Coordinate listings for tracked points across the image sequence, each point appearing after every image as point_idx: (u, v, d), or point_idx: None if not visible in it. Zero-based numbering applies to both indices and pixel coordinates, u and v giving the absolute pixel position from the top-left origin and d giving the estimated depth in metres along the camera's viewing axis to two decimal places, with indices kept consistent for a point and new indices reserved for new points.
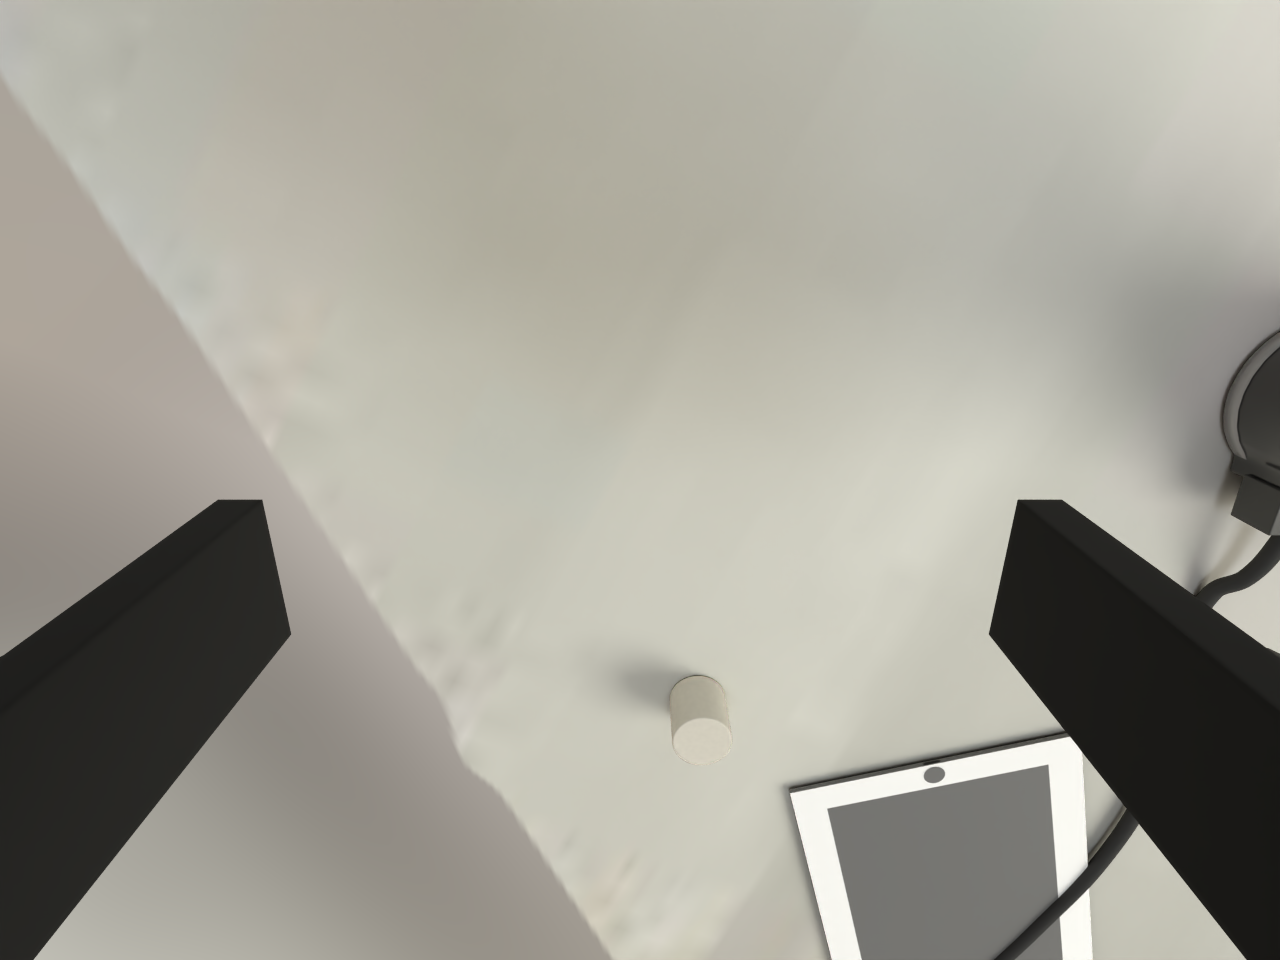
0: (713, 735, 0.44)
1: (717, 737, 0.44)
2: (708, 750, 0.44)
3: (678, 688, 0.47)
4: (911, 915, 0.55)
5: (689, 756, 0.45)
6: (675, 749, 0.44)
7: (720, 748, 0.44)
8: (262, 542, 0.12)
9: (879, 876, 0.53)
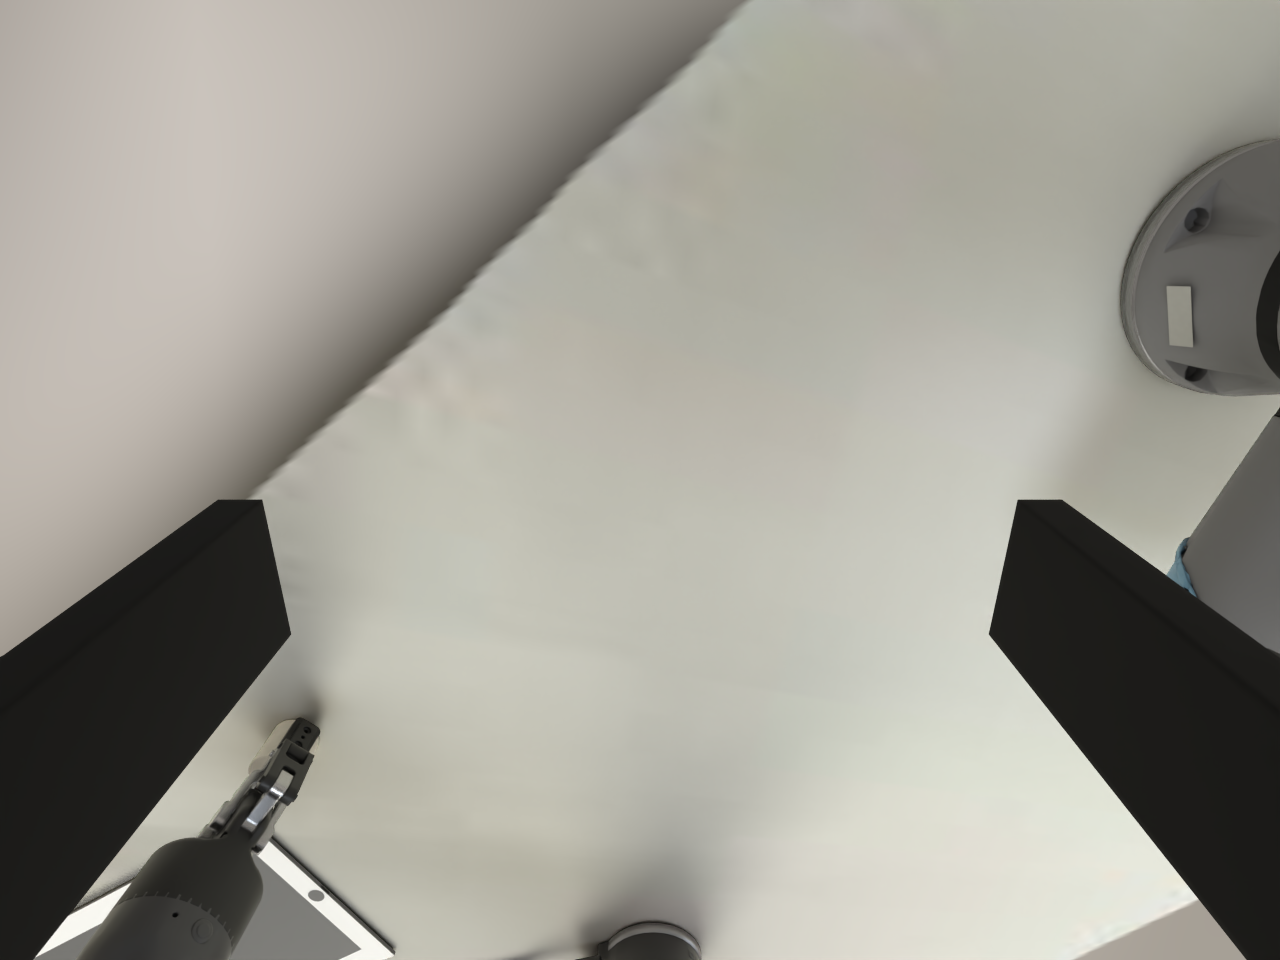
0: None
1: None
2: None
3: None
4: None
5: None
6: (255, 760, 0.55)
7: None
8: (262, 542, 0.12)
9: None
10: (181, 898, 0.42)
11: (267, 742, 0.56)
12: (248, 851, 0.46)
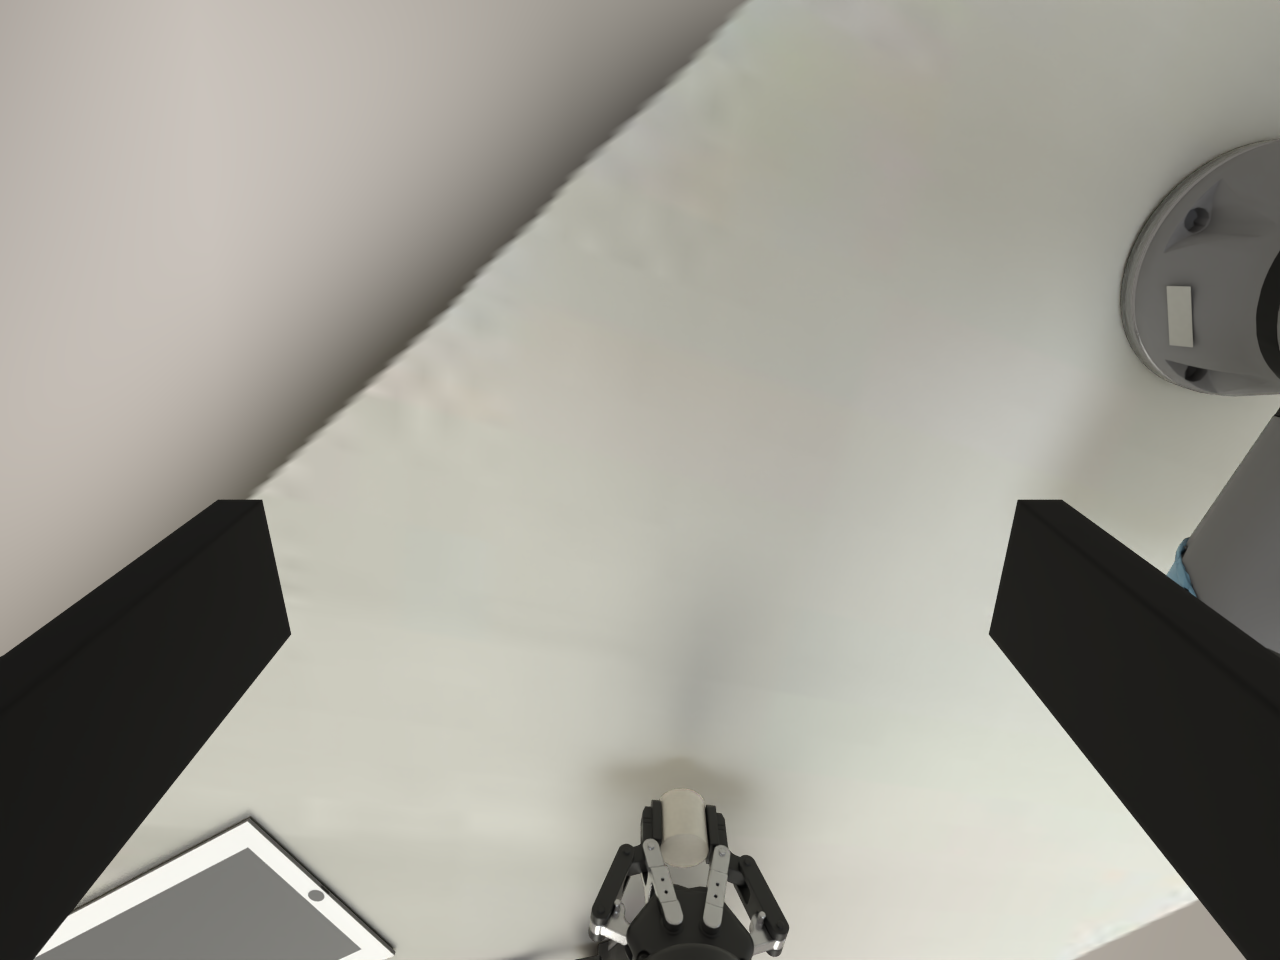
0: (683, 859, 0.54)
1: (679, 860, 0.54)
2: (673, 850, 0.53)
3: (704, 809, 0.56)
4: (182, 928, 0.67)
5: (679, 839, 0.53)
6: (692, 836, 0.53)
7: (669, 856, 0.53)
8: (262, 542, 0.12)
9: (206, 898, 0.65)
10: None
11: (693, 815, 0.54)
12: None
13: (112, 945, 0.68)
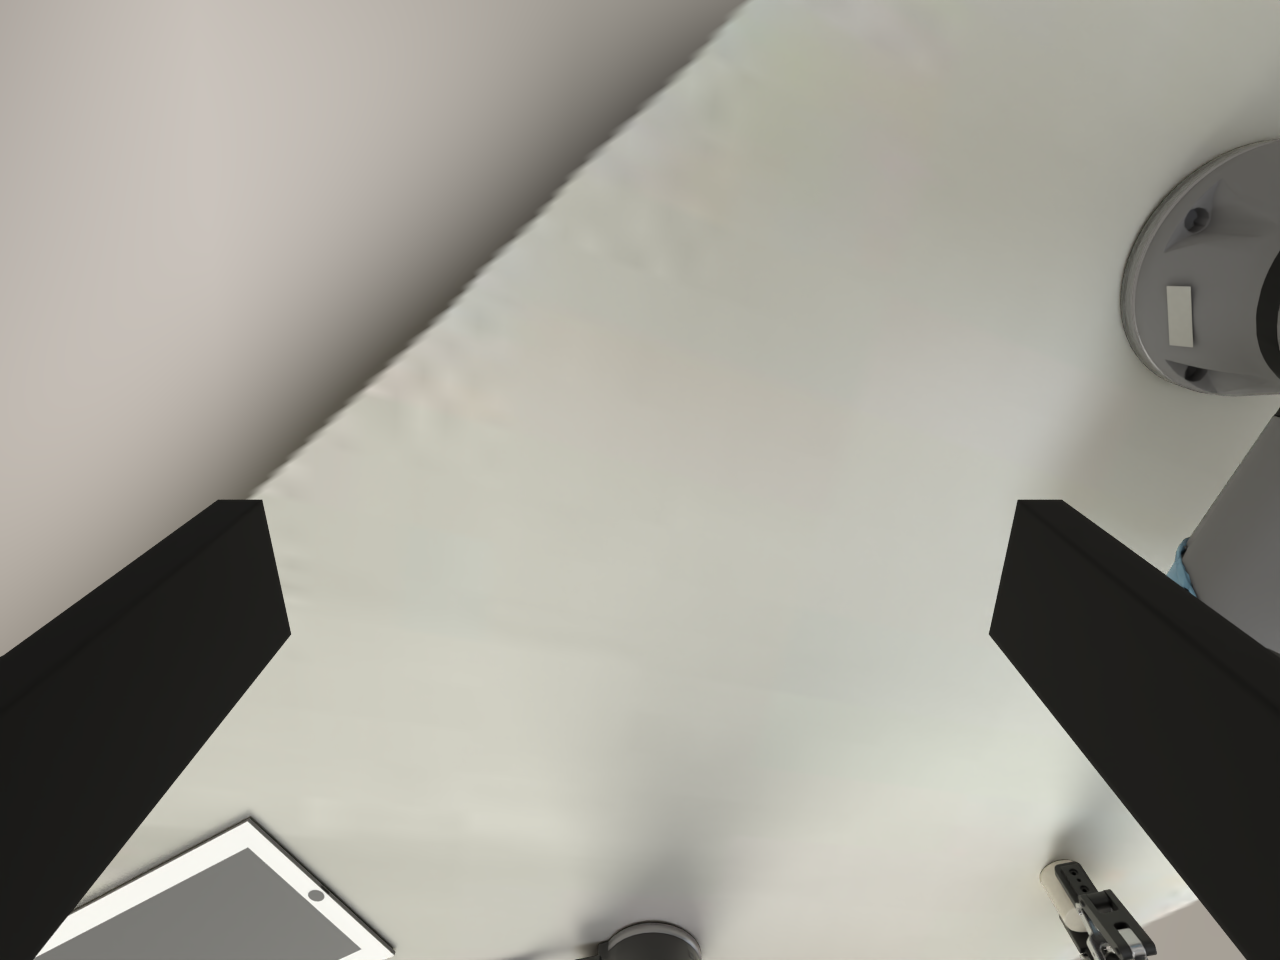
0: (1076, 920, 0.61)
1: (1075, 918, 0.61)
2: None
3: None
4: (182, 928, 0.67)
5: None
6: None
7: None
8: (262, 542, 0.12)
9: (206, 898, 0.65)
10: None
11: None
12: None
13: (112, 945, 0.68)
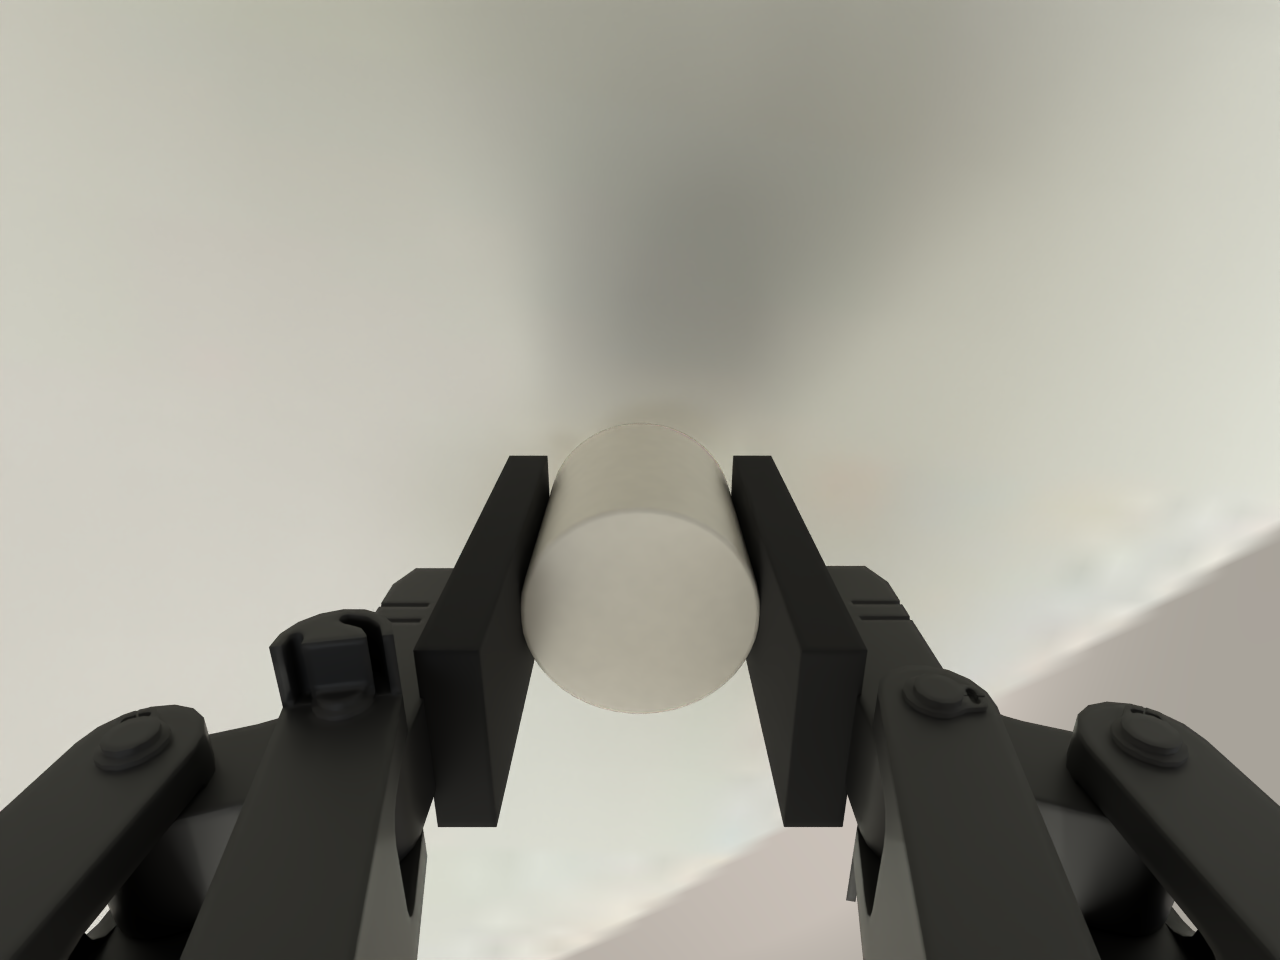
0: (589, 637, 0.11)
1: (576, 625, 0.11)
2: (625, 576, 0.11)
3: None
4: None
5: (709, 570, 0.11)
6: (753, 613, 0.11)
7: (575, 575, 0.11)
8: (547, 493, 0.14)
9: None
10: None
11: None
12: None
13: None
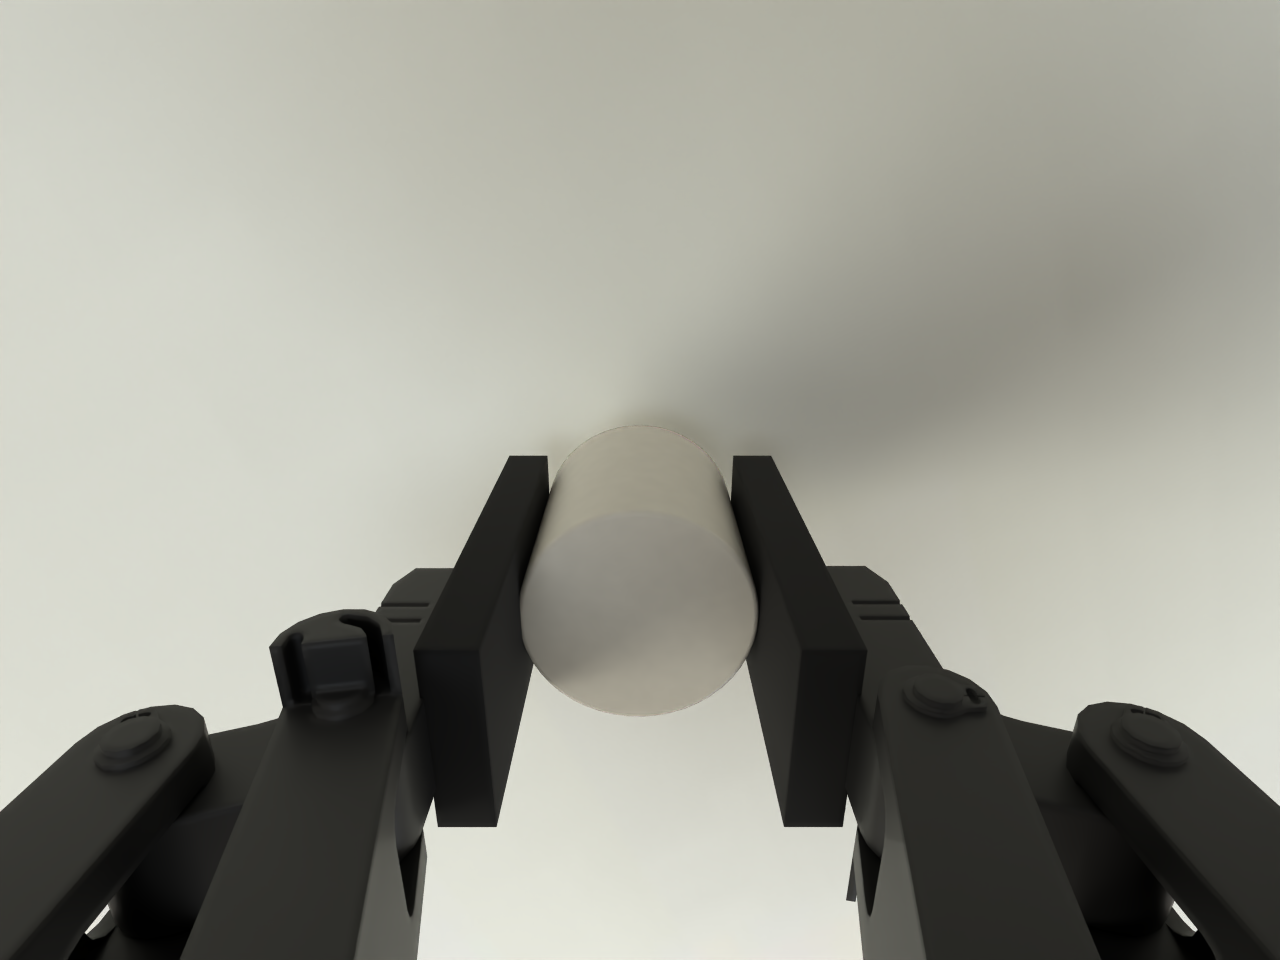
0: (587, 639, 0.11)
1: (574, 628, 0.11)
2: (623, 579, 0.11)
3: None
4: None
5: (707, 573, 0.11)
6: (751, 616, 0.11)
7: (573, 578, 0.11)
8: (547, 492, 0.14)
9: None
10: None
11: None
12: None
13: None
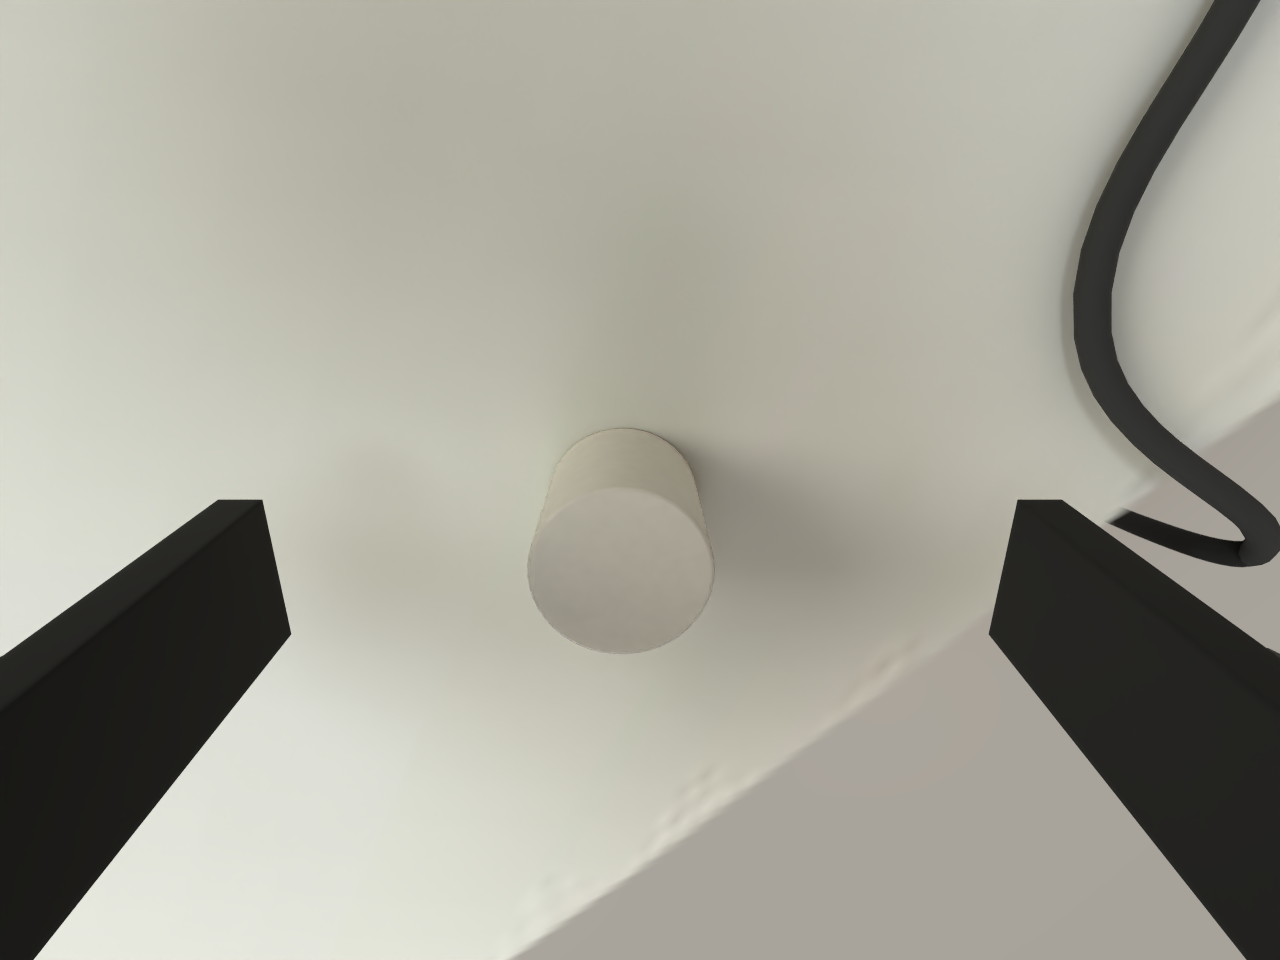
0: (581, 590, 0.14)
1: (571, 581, 0.14)
2: (609, 541, 0.14)
3: None
4: None
5: (674, 535, 0.14)
6: (709, 570, 0.14)
7: (570, 540, 0.14)
8: (262, 542, 0.12)
9: None
10: None
11: None
12: None
13: None
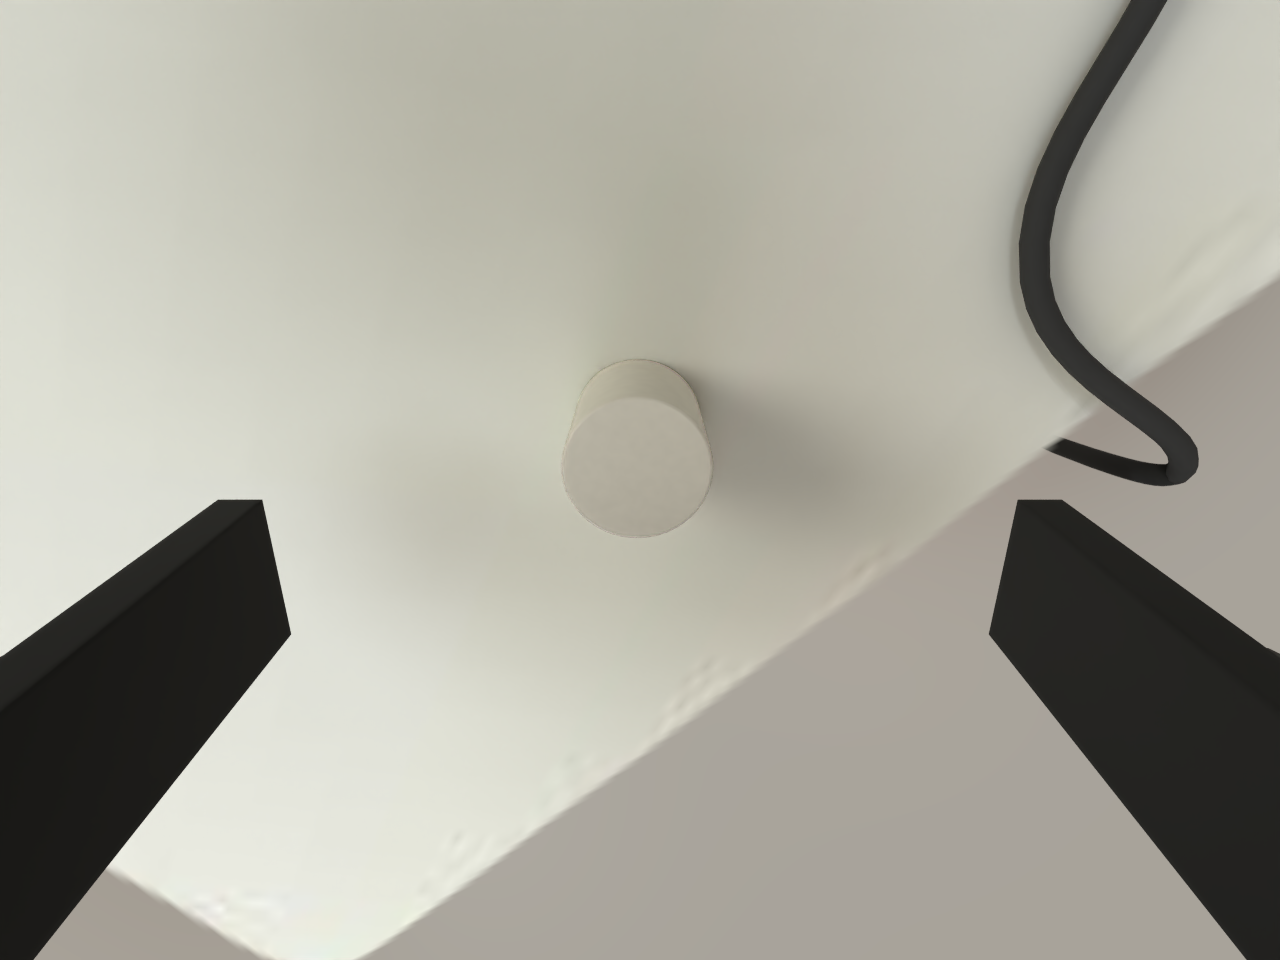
0: (605, 483, 0.18)
1: (596, 475, 0.18)
2: (628, 442, 0.17)
3: None
4: None
5: (680, 437, 0.17)
6: (708, 467, 0.17)
7: (596, 441, 0.17)
8: (262, 542, 0.12)
9: None
10: None
11: None
12: None
13: None
